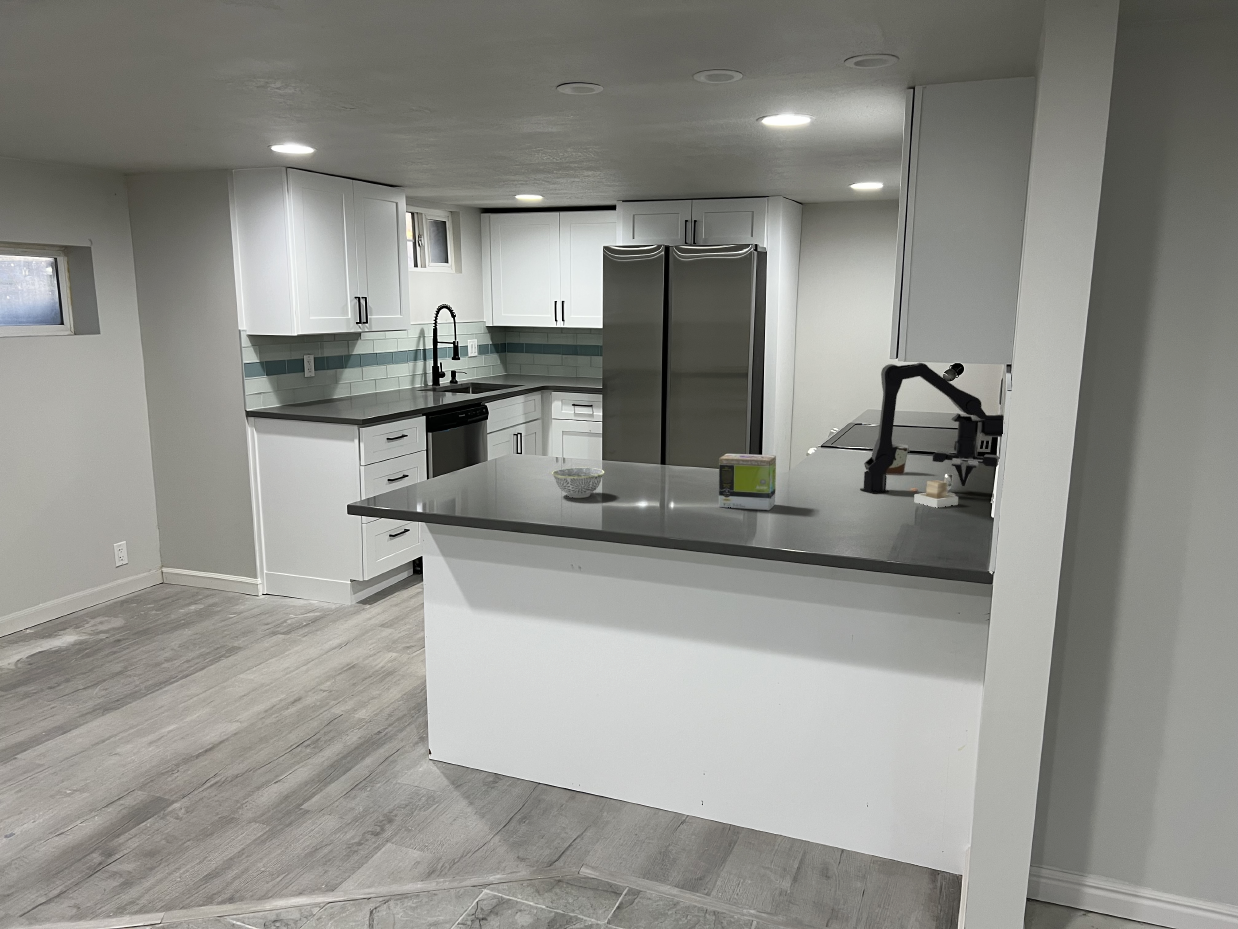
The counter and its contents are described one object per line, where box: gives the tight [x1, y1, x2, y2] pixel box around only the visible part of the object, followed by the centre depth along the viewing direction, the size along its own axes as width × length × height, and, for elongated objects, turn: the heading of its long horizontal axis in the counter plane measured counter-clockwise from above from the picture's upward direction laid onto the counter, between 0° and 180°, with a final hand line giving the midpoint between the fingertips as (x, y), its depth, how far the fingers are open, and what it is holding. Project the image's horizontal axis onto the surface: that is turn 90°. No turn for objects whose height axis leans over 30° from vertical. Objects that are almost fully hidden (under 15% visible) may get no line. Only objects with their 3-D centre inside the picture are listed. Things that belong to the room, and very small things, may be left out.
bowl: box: [551, 466, 605, 499], centre depth 276 cm, size 16×16×8 cm
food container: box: [872, 443, 910, 475], centre depth 315 cm, size 12×6×10 cm, turn 84°
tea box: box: [718, 453, 777, 511], centre depth 262 cm, size 15×10×15 cm
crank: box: [943, 473, 954, 492], centre depth 279 cm, size 12×3×4 cm, turn 149°
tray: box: [913, 492, 959, 509], centre depth 266 cm, size 9×9×2 cm
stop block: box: [925, 479, 948, 499], centre depth 265 cm, size 4×4×6 cm
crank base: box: [910, 487, 957, 496], centre depth 279 cm, size 8×16×1 cm, turn 29°
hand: (963, 485), depth 280 cm, fingers closed
